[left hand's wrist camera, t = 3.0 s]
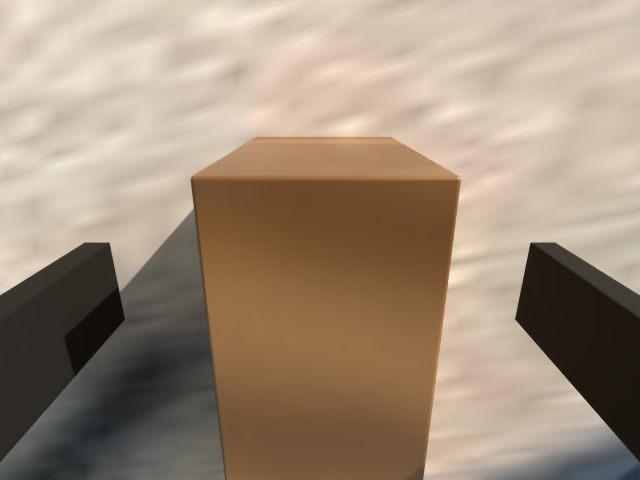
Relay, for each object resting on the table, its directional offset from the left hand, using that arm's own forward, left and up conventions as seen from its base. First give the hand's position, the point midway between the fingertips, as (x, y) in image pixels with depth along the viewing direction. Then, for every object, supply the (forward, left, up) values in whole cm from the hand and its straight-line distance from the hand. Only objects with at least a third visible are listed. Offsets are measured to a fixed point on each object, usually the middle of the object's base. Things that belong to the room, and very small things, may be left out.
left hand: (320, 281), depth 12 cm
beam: (+3, +33, -3) cm, 33 cm away
